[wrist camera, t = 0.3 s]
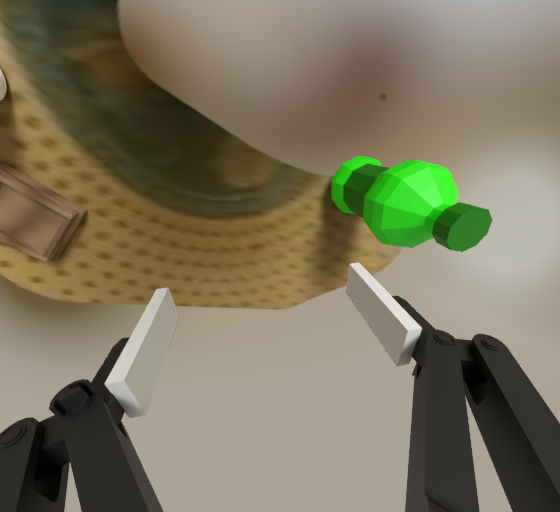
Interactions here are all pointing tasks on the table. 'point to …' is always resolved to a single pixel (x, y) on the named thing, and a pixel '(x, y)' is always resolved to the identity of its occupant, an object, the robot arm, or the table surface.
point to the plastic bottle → (408, 203)
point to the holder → (35, 216)
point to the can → (2, 85)
